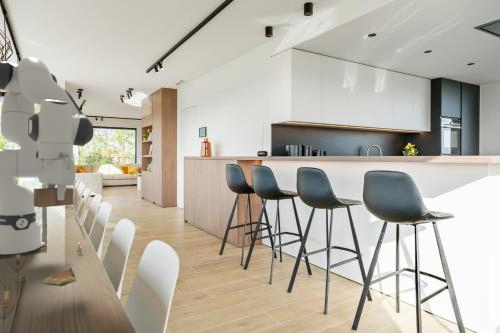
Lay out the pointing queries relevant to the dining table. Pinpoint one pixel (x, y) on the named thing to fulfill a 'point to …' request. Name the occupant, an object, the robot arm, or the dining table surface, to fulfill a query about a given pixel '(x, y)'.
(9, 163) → the robot arm
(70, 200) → the wooden block
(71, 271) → the shard
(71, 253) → the dining table surface
